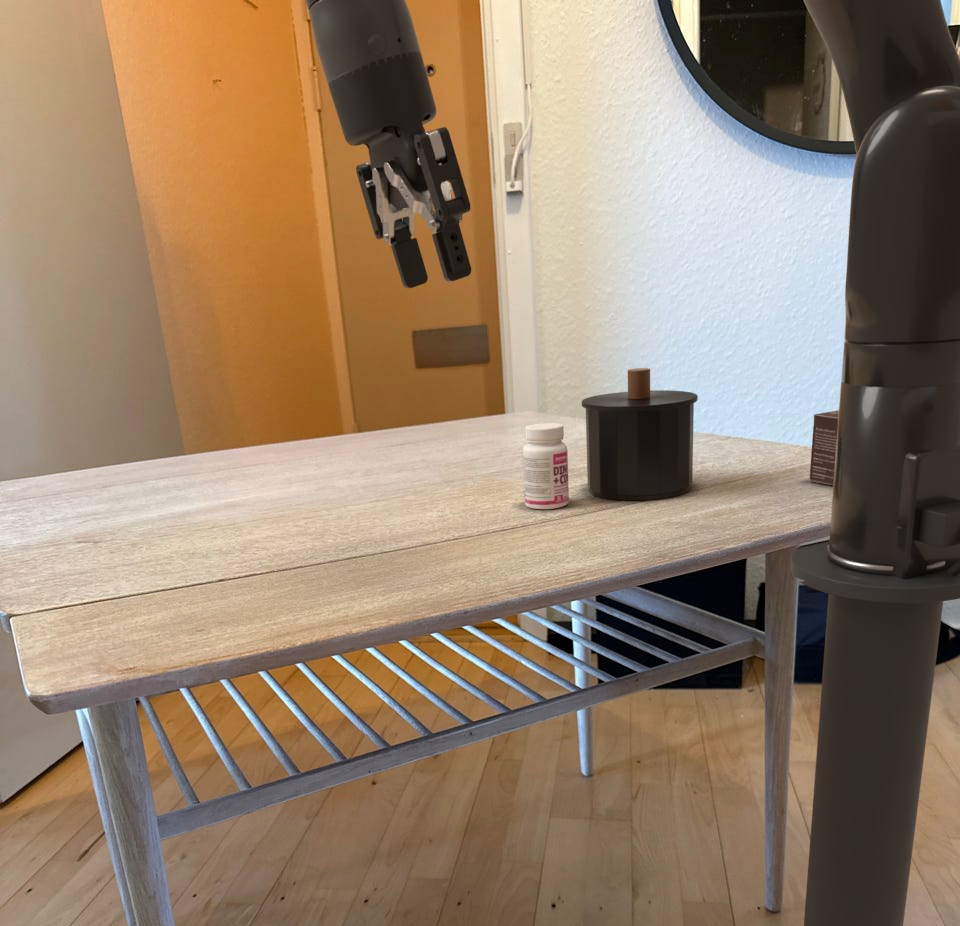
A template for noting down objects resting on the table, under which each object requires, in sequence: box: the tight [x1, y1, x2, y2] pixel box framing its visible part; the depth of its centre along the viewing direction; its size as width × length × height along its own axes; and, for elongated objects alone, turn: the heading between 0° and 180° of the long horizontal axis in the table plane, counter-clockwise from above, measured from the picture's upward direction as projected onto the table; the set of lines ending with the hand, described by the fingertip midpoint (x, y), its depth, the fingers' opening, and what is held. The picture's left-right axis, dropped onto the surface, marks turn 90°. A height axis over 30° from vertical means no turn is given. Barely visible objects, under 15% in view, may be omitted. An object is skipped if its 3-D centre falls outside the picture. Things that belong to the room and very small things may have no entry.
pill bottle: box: [522, 422, 570, 510], centre depth 98 cm, size 5×5×8 cm
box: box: [809, 409, 839, 486], centre depth 98 cm, size 6×6×7 cm
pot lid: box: [581, 367, 699, 411], centre depth 99 cm, size 12×12×4 cm
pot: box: [585, 403, 695, 502], centre depth 101 cm, size 11×11×10 cm
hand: (437, 282), depth 77 cm, fingers open, 8 cm apart
